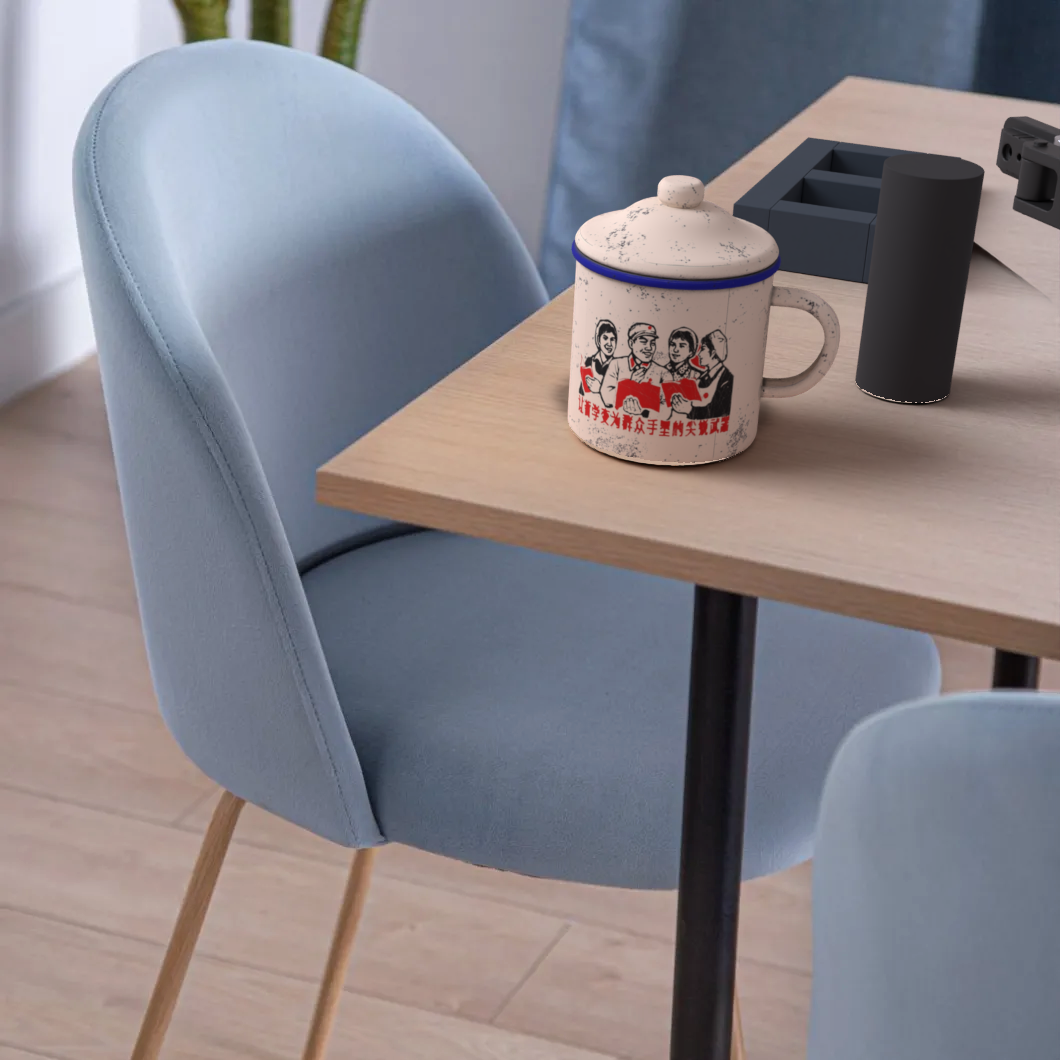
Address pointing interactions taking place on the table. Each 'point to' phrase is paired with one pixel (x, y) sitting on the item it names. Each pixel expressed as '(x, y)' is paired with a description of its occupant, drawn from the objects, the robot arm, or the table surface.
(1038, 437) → the table surface
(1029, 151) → the robot arm
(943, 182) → the black cylinder
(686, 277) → the teacup with lid
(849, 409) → the table surface
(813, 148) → the divided rectangular tray
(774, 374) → the table surface
